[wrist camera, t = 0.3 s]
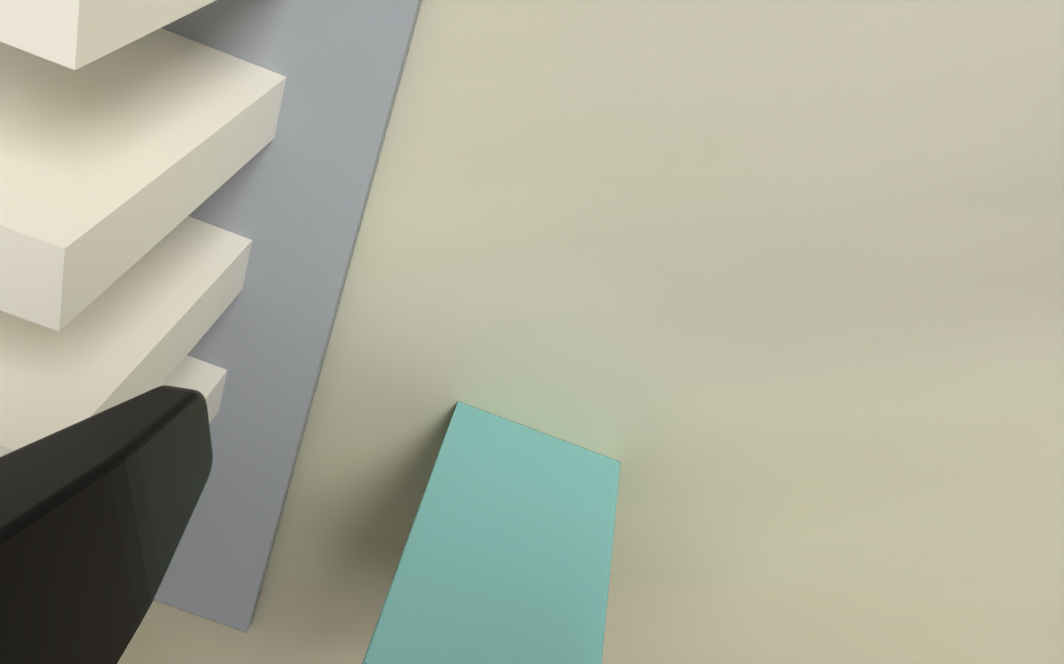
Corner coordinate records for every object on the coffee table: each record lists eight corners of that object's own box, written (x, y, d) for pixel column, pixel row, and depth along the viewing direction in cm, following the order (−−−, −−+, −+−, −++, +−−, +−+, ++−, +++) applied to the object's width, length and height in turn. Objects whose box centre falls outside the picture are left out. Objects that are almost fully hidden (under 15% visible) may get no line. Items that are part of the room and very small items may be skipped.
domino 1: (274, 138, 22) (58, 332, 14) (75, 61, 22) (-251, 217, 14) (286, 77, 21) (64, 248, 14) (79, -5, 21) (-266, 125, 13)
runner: (251, 623, 33) (246, 632, 32) (-21, 528, 32) (-29, 536, 32) (462, -148, 19) (458, -146, 18) (-14, -344, 18) (-27, -346, 18)
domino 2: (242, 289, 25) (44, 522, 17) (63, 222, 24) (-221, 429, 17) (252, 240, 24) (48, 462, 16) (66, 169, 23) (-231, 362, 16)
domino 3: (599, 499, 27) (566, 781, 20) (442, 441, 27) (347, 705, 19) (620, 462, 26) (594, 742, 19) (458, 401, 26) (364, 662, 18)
